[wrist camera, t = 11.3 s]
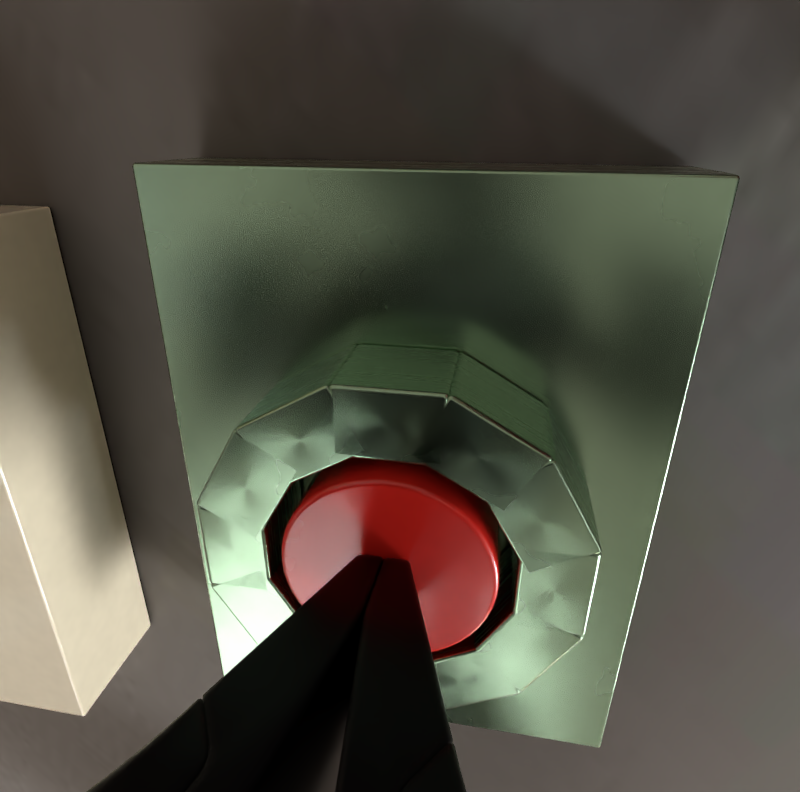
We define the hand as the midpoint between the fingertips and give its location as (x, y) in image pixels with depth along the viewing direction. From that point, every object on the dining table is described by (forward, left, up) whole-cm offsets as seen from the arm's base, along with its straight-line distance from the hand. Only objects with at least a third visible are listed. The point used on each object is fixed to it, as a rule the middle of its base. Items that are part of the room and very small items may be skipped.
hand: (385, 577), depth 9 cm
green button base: (0, 0, -4) cm, 4 cm away
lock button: (0, 0, -2) cm, 2 cm away
